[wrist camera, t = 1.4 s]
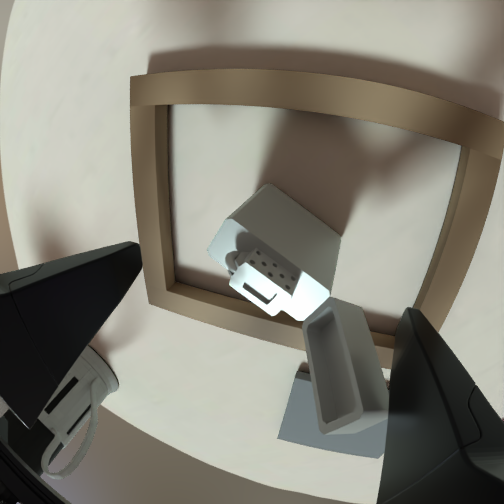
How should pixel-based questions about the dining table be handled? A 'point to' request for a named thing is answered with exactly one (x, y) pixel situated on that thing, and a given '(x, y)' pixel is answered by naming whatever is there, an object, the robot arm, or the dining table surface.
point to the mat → (307, 429)
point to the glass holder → (64, 416)
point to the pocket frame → (321, 101)
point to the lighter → (306, 303)
